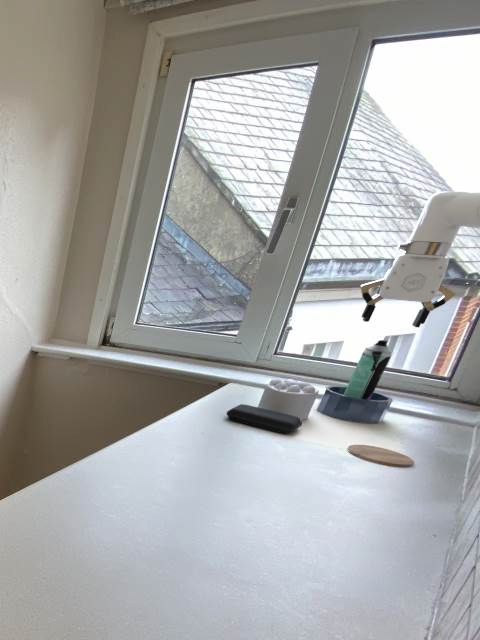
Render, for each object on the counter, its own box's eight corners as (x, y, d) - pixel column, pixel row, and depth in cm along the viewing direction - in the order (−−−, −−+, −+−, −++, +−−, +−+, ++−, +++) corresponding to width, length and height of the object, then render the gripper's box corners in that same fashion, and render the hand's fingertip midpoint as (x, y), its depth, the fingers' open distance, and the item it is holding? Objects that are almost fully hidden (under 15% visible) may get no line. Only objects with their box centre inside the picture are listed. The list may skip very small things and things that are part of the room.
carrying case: (302, 428, 136) (236, 411, 146) (308, 416, 135) (240, 400, 145) (290, 437, 130) (222, 419, 140) (295, 425, 129) (226, 407, 139)
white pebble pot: (312, 415, 146) (326, 384, 142) (293, 424, 139) (308, 391, 135) (267, 404, 153) (280, 374, 150) (248, 412, 147) (260, 380, 143)
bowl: (395, 423, 143) (406, 401, 140) (350, 423, 141) (361, 401, 138) (345, 406, 155) (355, 385, 152) (304, 406, 153) (313, 385, 150)
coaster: (426, 466, 117) (428, 463, 117) (383, 467, 116) (384, 465, 115) (375, 446, 127) (376, 444, 126) (334, 447, 125) (335, 444, 125)
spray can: (365, 419, 145) (402, 343, 136) (340, 416, 147) (375, 341, 138) (356, 413, 150) (391, 339, 141) (331, 410, 151) (365, 337, 142)
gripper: (382, 248, 131) (349, 320, 139) (482, 254, 123) (440, 331, 131) (375, 247, 137) (343, 317, 144) (470, 252, 129) (431, 326, 136)
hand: (390, 323), depth 138 cm, fingers open, 9 cm apart
